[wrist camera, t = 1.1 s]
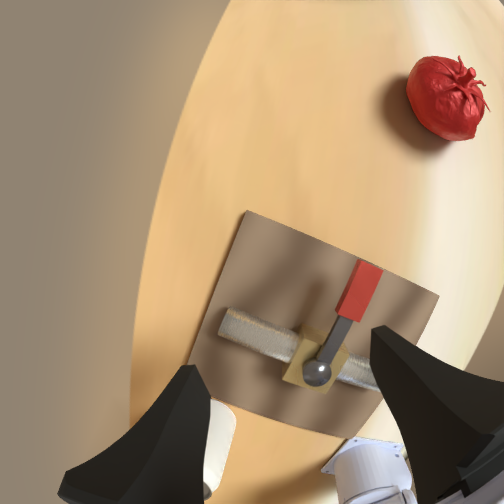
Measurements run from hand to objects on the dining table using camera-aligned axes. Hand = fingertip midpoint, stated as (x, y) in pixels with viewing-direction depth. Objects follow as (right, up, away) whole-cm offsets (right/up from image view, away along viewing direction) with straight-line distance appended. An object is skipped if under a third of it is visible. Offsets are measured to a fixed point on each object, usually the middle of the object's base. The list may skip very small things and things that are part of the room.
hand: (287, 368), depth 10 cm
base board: (+5, -5, +16) cm, 18 cm away
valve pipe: (+5, -5, +16) cm, 18 cm away
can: (-6, -15, +18) cm, 25 cm away
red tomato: (+20, +21, +13) cm, 31 cm away
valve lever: (+6, -1, +11) cm, 12 cm away
